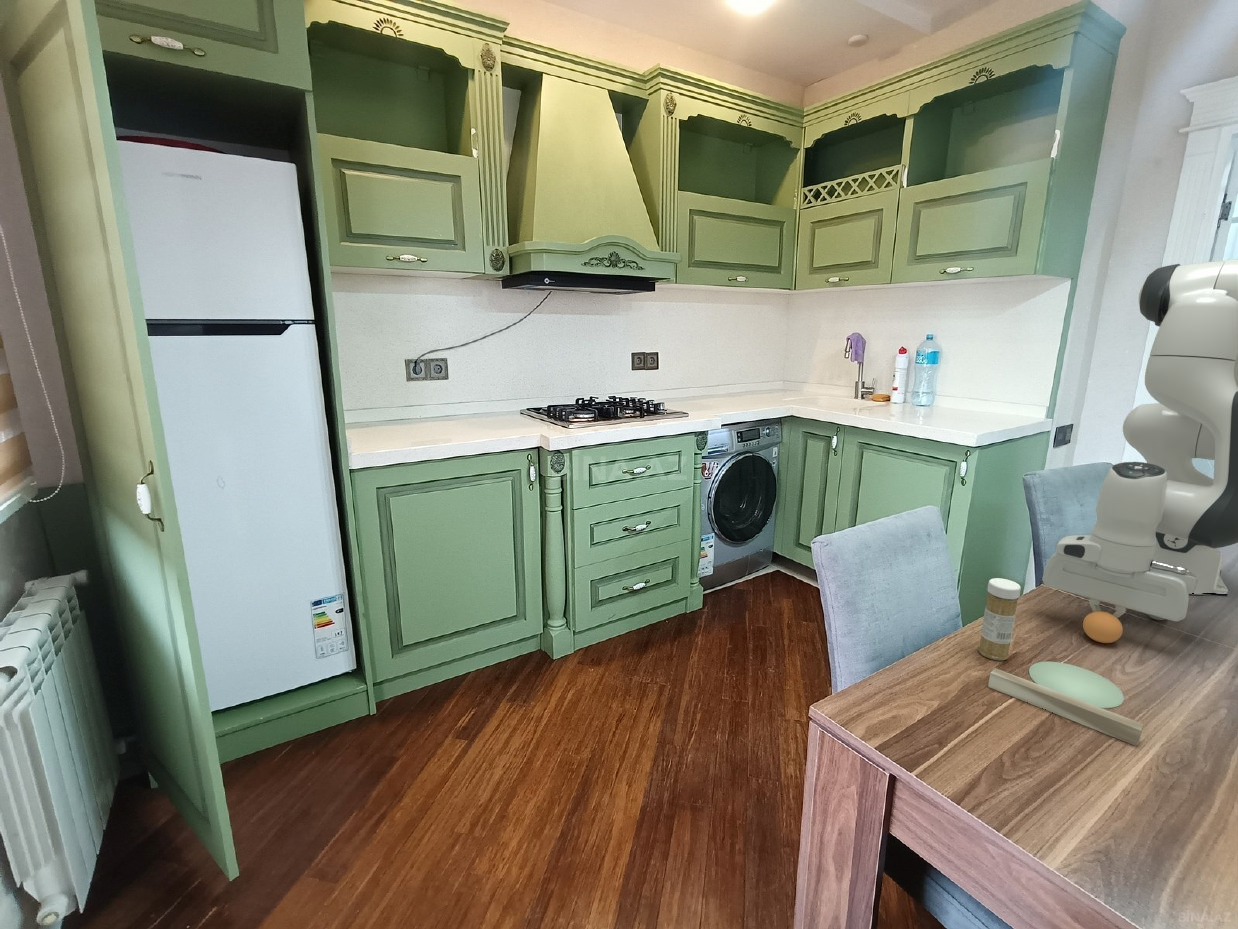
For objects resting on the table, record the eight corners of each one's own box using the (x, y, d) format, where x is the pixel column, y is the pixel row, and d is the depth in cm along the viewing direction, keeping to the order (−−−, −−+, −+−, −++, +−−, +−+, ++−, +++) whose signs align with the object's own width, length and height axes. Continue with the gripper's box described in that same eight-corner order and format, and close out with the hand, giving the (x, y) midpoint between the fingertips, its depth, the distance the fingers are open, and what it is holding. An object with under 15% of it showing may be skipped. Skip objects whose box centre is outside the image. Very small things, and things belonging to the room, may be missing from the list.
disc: (1039, 654, 101) (1040, 653, 101) (1129, 685, 93) (1130, 684, 93) (1019, 682, 93) (1019, 681, 93) (1115, 719, 85) (1116, 718, 85)
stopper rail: (992, 681, 94) (994, 667, 93) (1139, 739, 81) (1143, 724, 80) (988, 686, 92) (990, 672, 92) (1137, 746, 79) (1141, 730, 79)
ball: (1087, 614, 109) (1087, 601, 106) (1126, 625, 106) (1127, 612, 102) (1079, 640, 108) (1078, 628, 104) (1117, 652, 104) (1118, 640, 100)
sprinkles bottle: (1004, 650, 103) (1016, 579, 99) (1011, 664, 98) (1025, 590, 95) (974, 645, 104) (985, 575, 101) (980, 659, 100) (992, 586, 97)
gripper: (1201, 566, 99) (1182, 640, 102) (1056, 534, 114) (1043, 599, 117) (1198, 576, 95) (1178, 653, 98) (1047, 542, 110) (1034, 609, 113)
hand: (1103, 623), depth 108 cm, fingers closed
